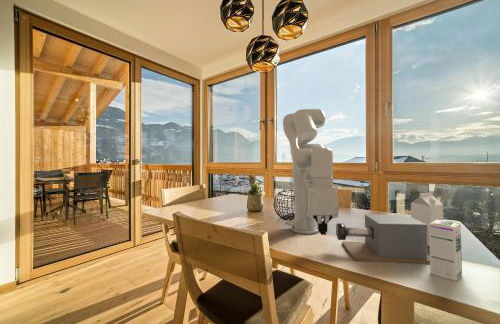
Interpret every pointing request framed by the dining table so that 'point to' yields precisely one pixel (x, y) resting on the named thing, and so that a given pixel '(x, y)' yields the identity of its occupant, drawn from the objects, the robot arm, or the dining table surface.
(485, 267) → the dining table surface
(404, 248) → the block
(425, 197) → the milk carton
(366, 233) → the shaft
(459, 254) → the syrup box
